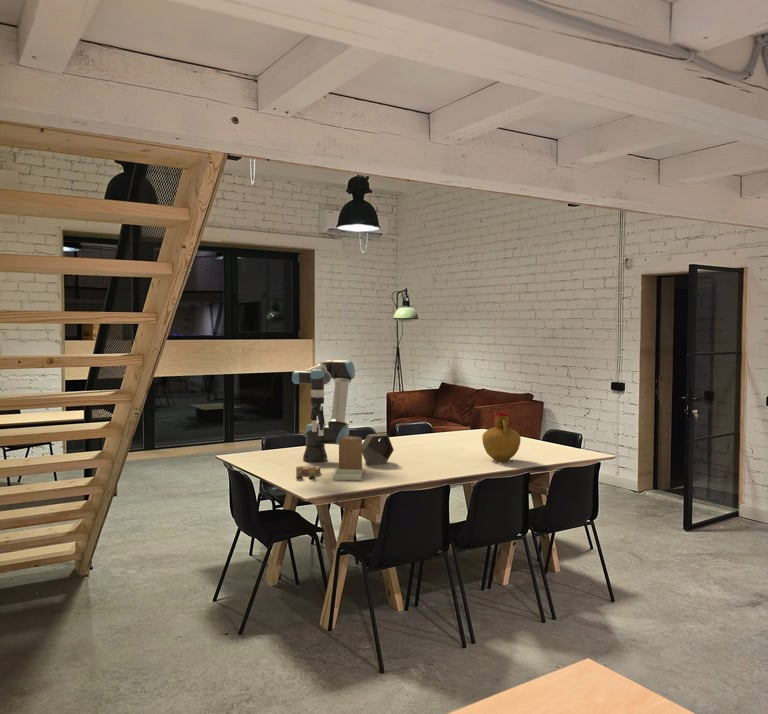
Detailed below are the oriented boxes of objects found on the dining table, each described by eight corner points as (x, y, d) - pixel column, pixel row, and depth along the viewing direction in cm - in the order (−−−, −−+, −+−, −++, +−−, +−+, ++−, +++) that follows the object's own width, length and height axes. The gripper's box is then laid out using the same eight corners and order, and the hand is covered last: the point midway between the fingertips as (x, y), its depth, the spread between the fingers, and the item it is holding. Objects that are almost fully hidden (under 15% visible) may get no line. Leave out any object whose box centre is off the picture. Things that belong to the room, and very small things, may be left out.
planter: (359, 457, 399) (377, 428, 403) (355, 455, 406) (372, 426, 410) (381, 471, 405) (398, 442, 409) (376, 469, 412) (393, 440, 416)
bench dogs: (296, 477, 366) (296, 466, 366) (315, 477, 366) (315, 466, 365) (295, 478, 362) (295, 467, 362) (314, 479, 362) (315, 468, 362)
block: (349, 469, 388) (350, 435, 388) (362, 471, 382) (362, 437, 381) (338, 472, 381) (338, 437, 380) (350, 474, 374) (351, 439, 373)
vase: (524, 464, 408) (525, 415, 407) (486, 464, 407) (487, 415, 405) (514, 457, 432) (515, 411, 431) (478, 457, 430) (479, 411, 429)
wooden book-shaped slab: (299, 472, 379) (299, 465, 379) (320, 473, 379) (320, 466, 379) (297, 475, 371) (297, 468, 371) (318, 476, 371) (318, 469, 371)
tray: (335, 474, 374) (335, 469, 374) (362, 474, 374) (362, 469, 373) (332, 480, 359) (332, 474, 359) (360, 480, 358) (360, 475, 358)
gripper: (305, 394, 388) (305, 430, 389) (317, 399, 365) (317, 437, 366) (317, 393, 390) (317, 429, 392) (330, 398, 367) (330, 436, 369)
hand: (317, 433), depth 379 cm, fingers open, 13 cm apart
